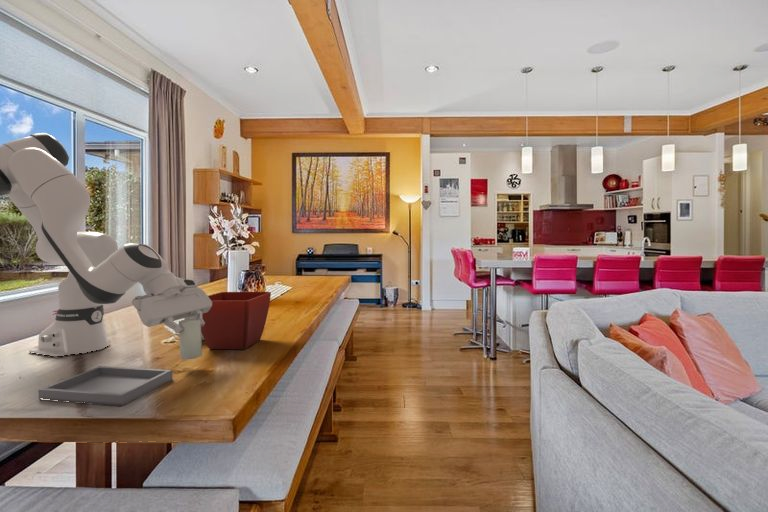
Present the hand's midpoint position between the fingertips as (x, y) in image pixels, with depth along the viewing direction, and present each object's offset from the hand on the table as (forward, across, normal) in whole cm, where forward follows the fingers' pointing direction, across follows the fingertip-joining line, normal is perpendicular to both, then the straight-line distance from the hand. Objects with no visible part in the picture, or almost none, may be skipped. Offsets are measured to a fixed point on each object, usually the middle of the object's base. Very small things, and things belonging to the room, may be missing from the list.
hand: (191, 328), depth 109 cm
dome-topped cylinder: (+5, 0, +6) cm, 8 cm away
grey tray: (+3, -18, +13) cm, 23 cm away
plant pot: (+3, +23, +14) cm, 27 cm away
